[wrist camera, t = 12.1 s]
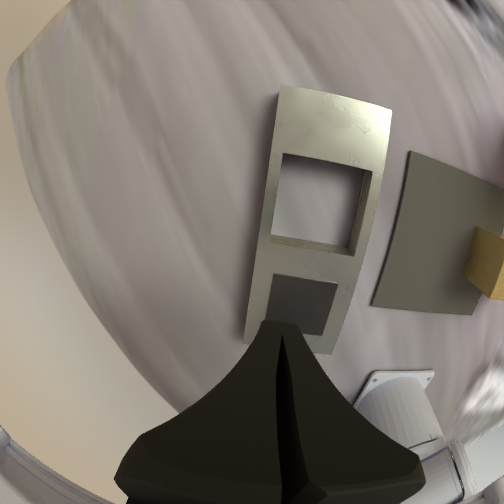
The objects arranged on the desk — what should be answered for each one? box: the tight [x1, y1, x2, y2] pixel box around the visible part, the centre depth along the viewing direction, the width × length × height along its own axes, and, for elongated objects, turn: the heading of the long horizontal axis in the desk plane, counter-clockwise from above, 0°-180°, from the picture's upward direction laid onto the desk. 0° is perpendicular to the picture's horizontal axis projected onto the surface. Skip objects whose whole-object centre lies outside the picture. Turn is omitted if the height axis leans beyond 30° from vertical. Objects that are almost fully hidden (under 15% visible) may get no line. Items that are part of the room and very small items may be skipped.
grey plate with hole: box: [243, 85, 392, 355], centre depth 17 cm, size 18×7×2 cm, turn 172°
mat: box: [371, 151, 504, 315], centre depth 17 cm, size 12×12×1 cm
